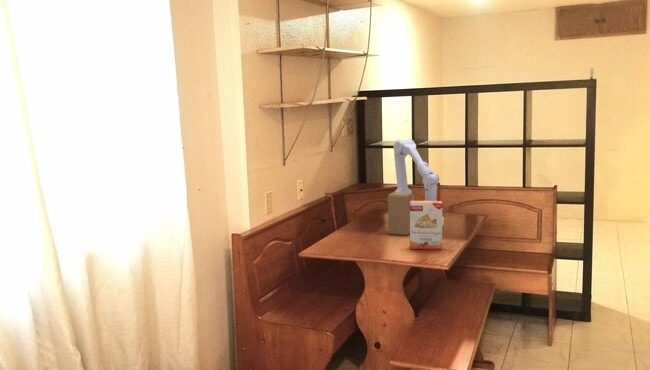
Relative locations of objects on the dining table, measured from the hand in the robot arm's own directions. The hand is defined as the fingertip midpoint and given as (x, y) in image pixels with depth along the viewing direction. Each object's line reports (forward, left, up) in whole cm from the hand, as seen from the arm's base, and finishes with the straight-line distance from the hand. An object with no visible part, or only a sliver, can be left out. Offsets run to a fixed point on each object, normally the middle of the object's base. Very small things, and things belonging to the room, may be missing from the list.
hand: (430, 224), depth 300 cm
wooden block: (-12, -14, -3) cm, 19 cm away
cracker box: (+6, -40, -3) cm, 41 cm away
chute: (0, +1, -2) cm, 3 cm away
